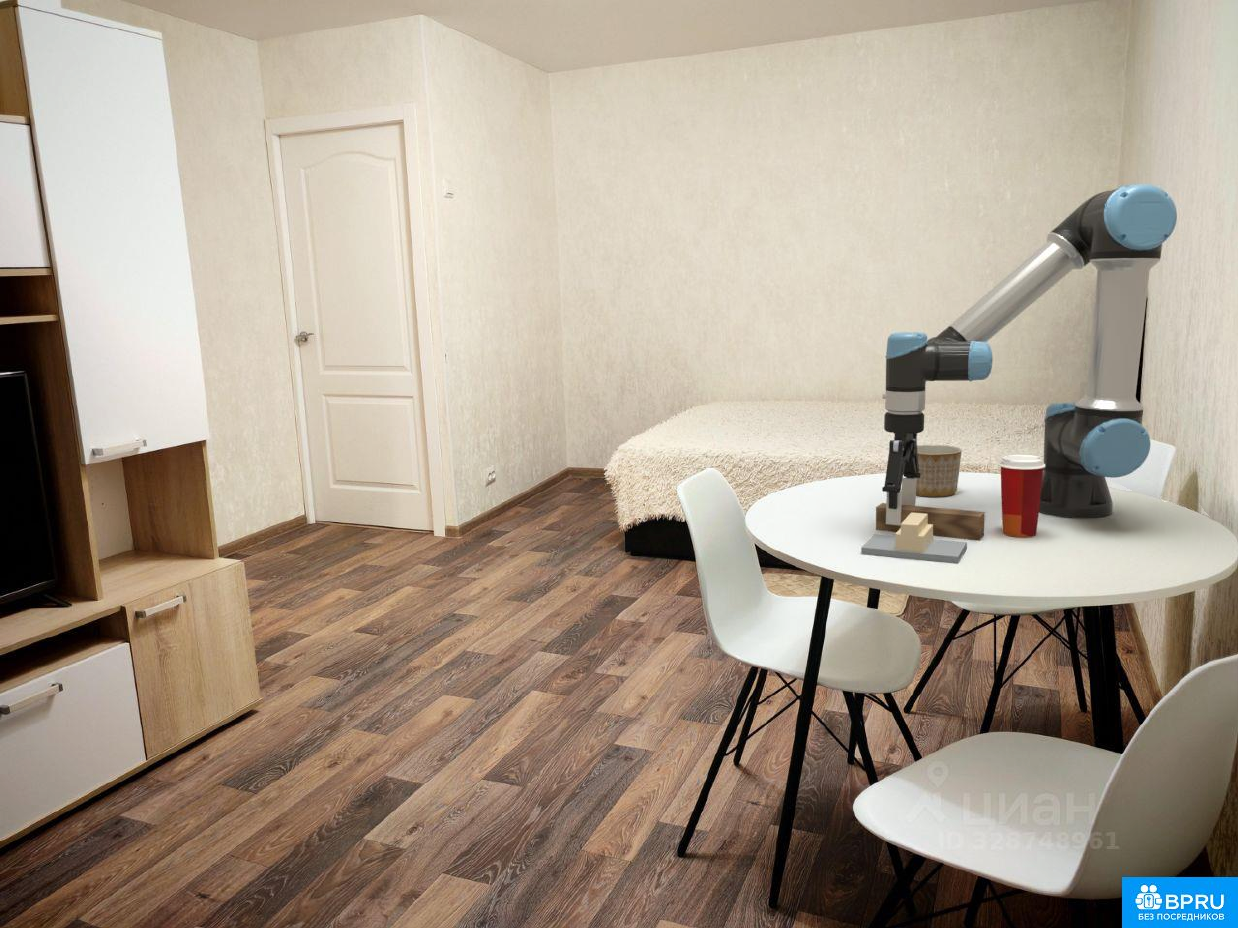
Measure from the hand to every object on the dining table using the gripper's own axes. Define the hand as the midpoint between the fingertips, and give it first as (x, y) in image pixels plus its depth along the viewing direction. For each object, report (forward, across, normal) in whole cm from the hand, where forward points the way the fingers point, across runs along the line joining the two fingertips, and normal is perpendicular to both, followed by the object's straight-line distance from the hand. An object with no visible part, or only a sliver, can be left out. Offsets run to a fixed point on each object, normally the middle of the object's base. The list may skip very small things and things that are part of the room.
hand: (901, 516), depth 181 cm
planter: (+3, -36, 0) cm, 36 cm away
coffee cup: (+3, -5, +21) cm, 22 cm away
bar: (+3, 0, +6) cm, 6 cm away
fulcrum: (+3, +14, +5) cm, 15 cm away
